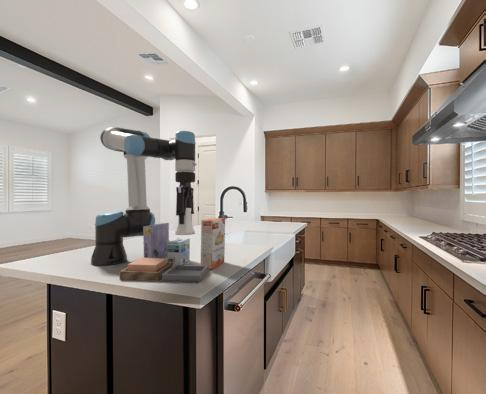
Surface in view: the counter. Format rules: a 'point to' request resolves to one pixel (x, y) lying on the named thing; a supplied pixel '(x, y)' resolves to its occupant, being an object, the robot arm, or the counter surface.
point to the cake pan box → (156, 240)
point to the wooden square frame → (144, 273)
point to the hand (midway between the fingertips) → (185, 231)
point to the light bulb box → (179, 251)
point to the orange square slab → (147, 264)
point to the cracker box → (212, 242)
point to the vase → (187, 224)
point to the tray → (185, 273)
